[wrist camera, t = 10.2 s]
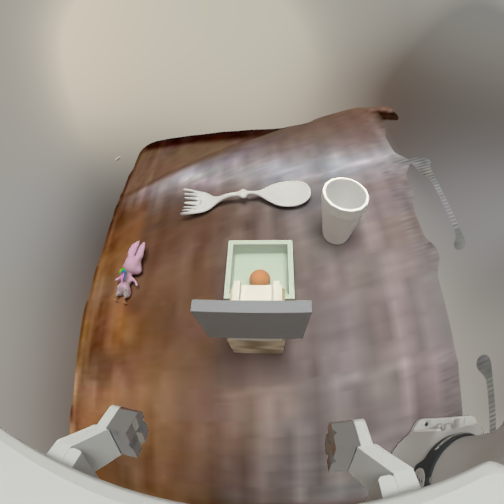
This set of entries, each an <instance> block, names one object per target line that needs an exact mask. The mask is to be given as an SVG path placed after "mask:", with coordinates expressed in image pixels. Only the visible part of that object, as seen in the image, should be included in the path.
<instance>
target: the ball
mask: <svg viewBox="0 0 504 504" xmlns="http://www.w3.org/2000/svg"><path fill="white" fill-rule="evenodd" d="M249 280H250V284H251V285H269V283H270V276H269V274H268V273H267V272H266V271H264V270H255V271H254V272H253V273H252V274H251V275H250V279H249Z"/></svg>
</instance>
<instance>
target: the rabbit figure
mask: <svg viewBox="0 0 504 504" xmlns="http://www.w3.org/2000/svg"><path fill="white" fill-rule="evenodd" d="M139 243H140V241H137V242H135V243H134V244H132V245H131V247H130V249H129V251H128V257H127V259H126V260H125V263H124V265H123V268H121V269H120V271H119V274H120V277H118V278H116V279H115V280H116V281H118V280H119V279H120V280H121V282H120V283H119V284H118V286H117V292H116V294H115V299H114V300H115V301H118V300H117V299H116V297H117V296H123V295H124V302H123V303H124V304H127V303H126V302H125V298H129V297H130V296H131V288H130V284H131V283H132V281H133V282H134V283H135V285H136V286H138V284H137V282H136V280H135V279H134V278H133V277H132V275H135V274H136V275H138V274H140V273H141V272H142V267H141V260H142V258H143V254H144V249H145V242H143V243H142V244H141V245H140V247H139V248H138V246H139ZM137 249H138V251H137ZM136 252H137V253H136ZM135 254H136V256H135ZM126 274H127V275H126ZM118 302H119V301H118Z"/></svg>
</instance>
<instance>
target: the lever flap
mask: <svg viewBox="0 0 504 504" xmlns="http://www.w3.org/2000/svg"><path fill="white" fill-rule="evenodd" d="M191 312H192V314H193V315H194V317H195V318H196V320H197V321H198V322H199V324H200V325H201V326H202V328H203V329H204V331H205V332H206V333H207V335H208V336H209V337H217V338H229V339H230V340H247V341H282V339H296V338H303V336H304V333H305V330H306V327H307V325H308V322H309V319H310V316H311V313H312V305H311V300H298V301H282V285H280V281H273V285H241V282H240V281H234V285H233V286H232V299H231V300H193V299H192V304H191Z"/></svg>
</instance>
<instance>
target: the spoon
mask: <svg viewBox="0 0 504 504" xmlns="http://www.w3.org/2000/svg"><path fill="white" fill-rule="evenodd" d="M183 191H184V192H189V193H185V194H184V195H186V196H190V197H184V199H187V200H192V201H190V202H184V203H185V204H187V205H191V206H185V207H183V208H186V209H184V210H182V211H184V212H182V213H180V214H181V215H192V214H197V213H203V212H206V211H208V210H210V209H211V208H213V207H214V206H215V205H216V204H218V203H219V202H221V201H223V200H225V199H227V198H231V197H241V198H246V197H247V196H248V195H256V196H259V197H261V198H263V199H265V200H267V201H268V202H270V203H273V204H275V205H278V206H284V207H292V206H298V205H301V204H303V203H305V202H306V201H307V200H309V198H310V196H311V189H310V187H309V185H308V184H306V183H305V182H302V181H297V180H289V181H283V182H278V183H274V184H272V185H270V186H268V187H266V188H264V189H261V190H258V191H246V190H245V189H241V190H240V191H238V192H232V193H227V194H224V195H221V196H212V195H210V194H208V193H206V192H201V191H195V190H191V189H183Z"/></svg>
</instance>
